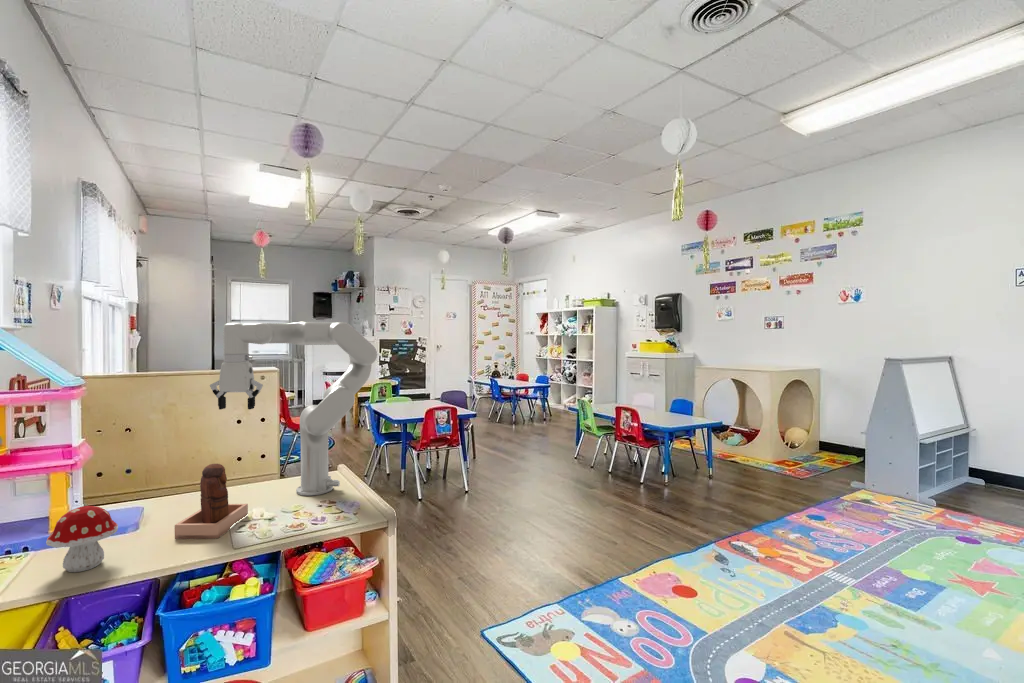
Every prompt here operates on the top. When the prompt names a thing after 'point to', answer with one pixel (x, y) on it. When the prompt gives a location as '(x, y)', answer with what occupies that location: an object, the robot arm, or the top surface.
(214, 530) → the tray
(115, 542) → the top surface
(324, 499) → the top surface
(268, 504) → the top surface
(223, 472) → the wooden figurine
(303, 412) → the robot arm
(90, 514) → the decorative mushroom
